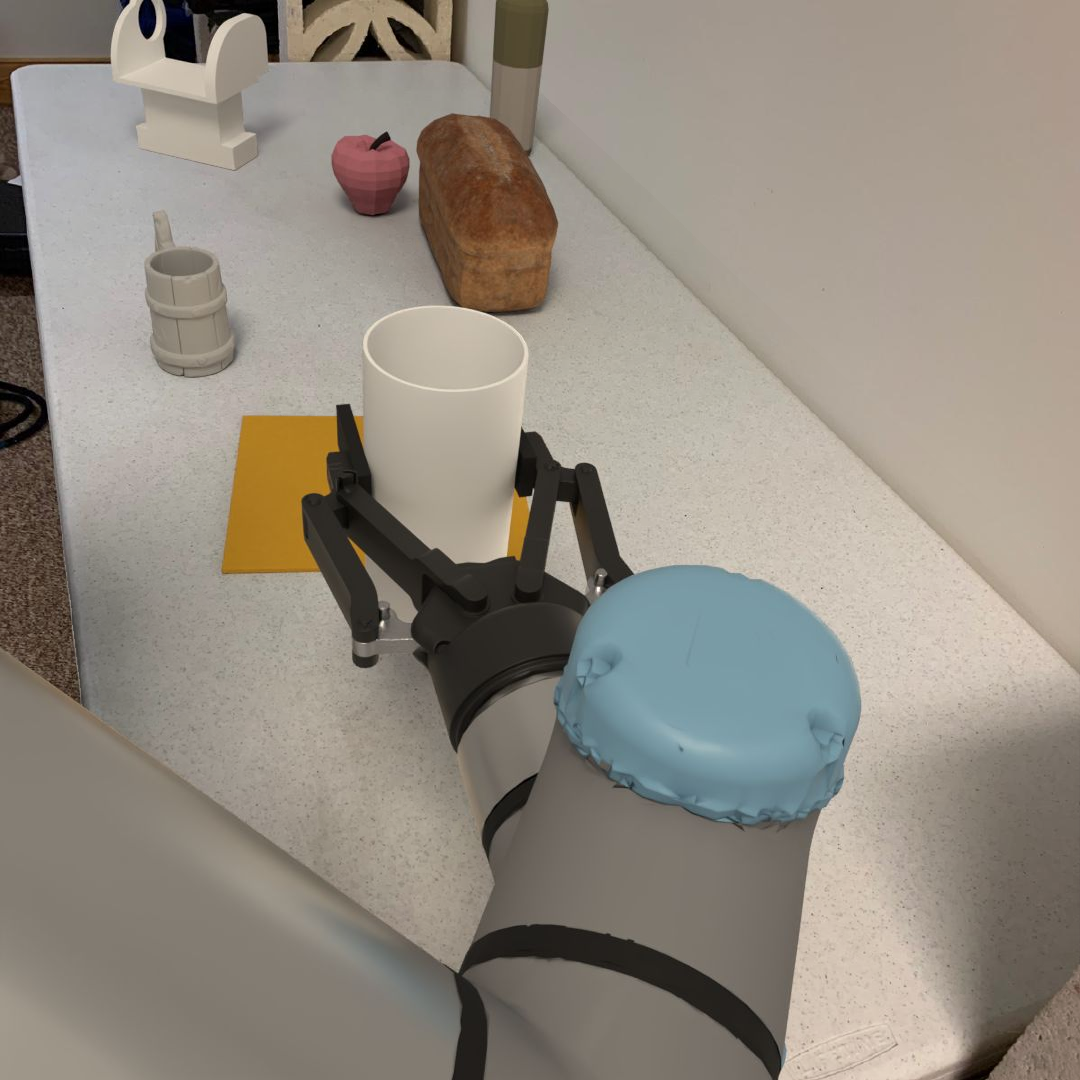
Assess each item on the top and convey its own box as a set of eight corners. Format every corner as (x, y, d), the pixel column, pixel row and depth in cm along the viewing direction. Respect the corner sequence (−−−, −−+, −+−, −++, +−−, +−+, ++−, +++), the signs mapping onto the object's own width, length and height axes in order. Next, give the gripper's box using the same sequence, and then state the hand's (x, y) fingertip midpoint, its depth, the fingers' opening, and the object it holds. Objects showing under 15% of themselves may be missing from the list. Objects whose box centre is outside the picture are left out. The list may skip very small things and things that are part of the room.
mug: (166, 386, 91) (146, 264, 83) (131, 325, 98) (109, 208, 90) (248, 369, 94) (236, 251, 87) (208, 311, 102) (194, 197, 94)
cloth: (222, 573, 74) (221, 569, 74) (243, 418, 89) (242, 415, 88) (539, 566, 78) (540, 563, 78) (509, 420, 93) (509, 416, 92)
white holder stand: (126, 154, 129) (100, 1, 117) (181, 125, 138) (162, -20, 126) (224, 177, 126) (208, 24, 115) (274, 145, 136) (263, 0, 124)
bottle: (478, 144, 144) (493, -97, 124) (521, 142, 147) (543, -95, 127) (496, 163, 140) (516, -84, 120) (541, 160, 142) (567, -83, 123)
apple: (386, 191, 128) (387, 112, 122) (423, 218, 124) (425, 136, 117) (320, 204, 124) (316, 122, 117) (355, 232, 119) (353, 148, 112)
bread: (500, 211, 128) (510, 95, 118) (558, 320, 108) (575, 191, 98) (407, 211, 125) (409, 92, 115) (449, 324, 105) (455, 191, 95)
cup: (353, 543, 61) (347, 310, 51) (481, 525, 64) (501, 299, 53) (381, 640, 55) (381, 399, 45) (521, 616, 58) (551, 383, 47)
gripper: (289, 828, 41) (238, 488, 57) (742, 734, 47) (583, 451, 63) (276, 713, 36) (224, 375, 52) (784, 625, 42) (600, 347, 58)
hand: (421, 417), depth 57 cm, fingers closed on cup, 8 cm apart
